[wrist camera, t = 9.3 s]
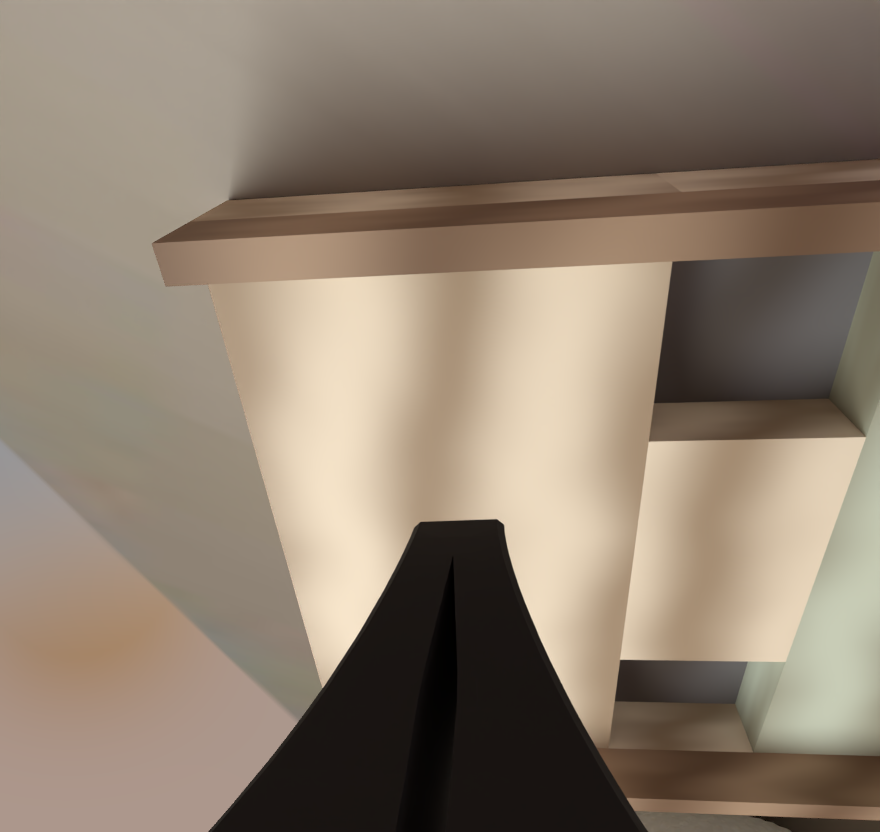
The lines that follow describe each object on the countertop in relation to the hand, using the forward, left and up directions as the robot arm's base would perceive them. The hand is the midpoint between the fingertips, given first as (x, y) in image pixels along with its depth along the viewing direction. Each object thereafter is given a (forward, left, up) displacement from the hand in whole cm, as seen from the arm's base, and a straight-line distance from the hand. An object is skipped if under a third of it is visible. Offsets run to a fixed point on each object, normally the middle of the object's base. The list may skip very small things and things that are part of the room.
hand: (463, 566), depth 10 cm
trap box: (-8, +8, -10) cm, 15 cm away
